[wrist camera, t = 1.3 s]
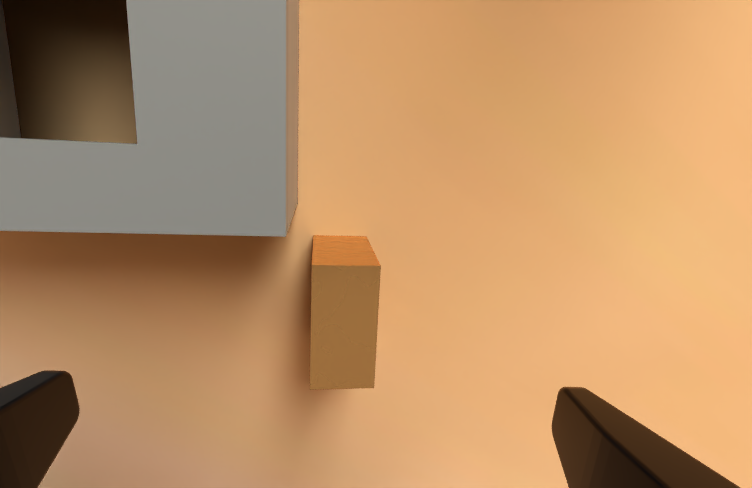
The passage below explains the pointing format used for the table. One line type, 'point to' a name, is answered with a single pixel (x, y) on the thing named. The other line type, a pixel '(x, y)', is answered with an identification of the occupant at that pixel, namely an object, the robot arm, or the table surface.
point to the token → (343, 312)
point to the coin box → (174, 131)
